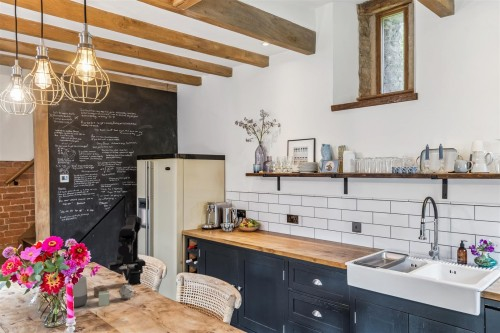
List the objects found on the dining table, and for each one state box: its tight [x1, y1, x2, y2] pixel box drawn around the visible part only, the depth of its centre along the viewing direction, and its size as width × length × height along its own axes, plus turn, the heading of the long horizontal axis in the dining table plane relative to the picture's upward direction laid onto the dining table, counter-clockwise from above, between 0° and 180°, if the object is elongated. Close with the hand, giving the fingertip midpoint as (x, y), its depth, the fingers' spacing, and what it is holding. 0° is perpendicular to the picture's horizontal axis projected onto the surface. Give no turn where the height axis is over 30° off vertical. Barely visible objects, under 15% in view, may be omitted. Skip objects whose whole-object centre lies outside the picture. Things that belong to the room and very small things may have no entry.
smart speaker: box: [73, 275, 88, 308], centre depth 196 cm, size 10×9×14 cm
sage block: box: [98, 290, 110, 307], centre depth 199 cm, size 5×5×6 cm
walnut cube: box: [93, 284, 108, 299], centre depth 211 cm, size 5×5×5 cm
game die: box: [118, 283, 135, 301], centre depth 207 cm, size 9×8×10 cm
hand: (126, 280), depth 207 cm, fingers closed
